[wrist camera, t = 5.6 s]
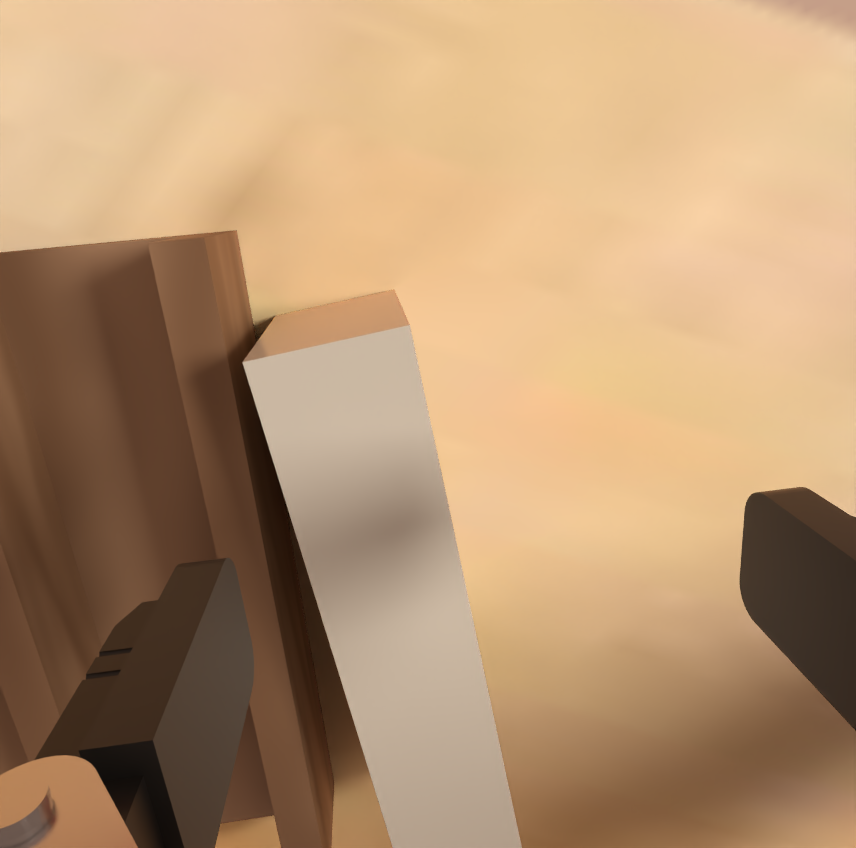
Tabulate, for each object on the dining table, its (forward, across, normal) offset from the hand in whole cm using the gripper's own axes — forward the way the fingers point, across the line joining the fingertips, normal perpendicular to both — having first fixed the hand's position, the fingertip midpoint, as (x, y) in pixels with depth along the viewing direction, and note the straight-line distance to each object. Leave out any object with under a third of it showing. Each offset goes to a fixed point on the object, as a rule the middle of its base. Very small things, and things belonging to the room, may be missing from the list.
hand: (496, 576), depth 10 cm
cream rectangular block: (+11, +2, +5) cm, 12 cm away
